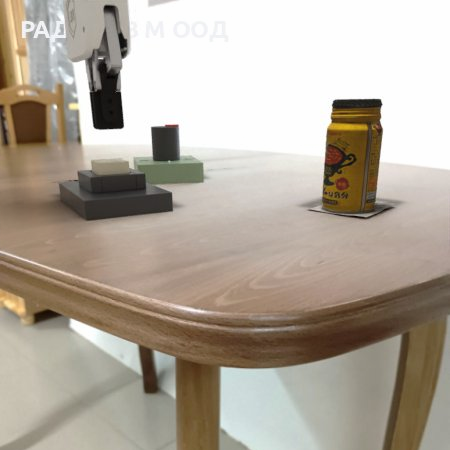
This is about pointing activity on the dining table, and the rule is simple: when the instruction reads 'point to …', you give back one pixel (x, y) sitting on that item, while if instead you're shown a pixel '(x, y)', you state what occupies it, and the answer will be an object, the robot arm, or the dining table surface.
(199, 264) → the dining table surface
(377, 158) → the condiment
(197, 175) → the panel
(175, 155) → the volume knob
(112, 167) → the white key
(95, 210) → the tiered dark pedestal
